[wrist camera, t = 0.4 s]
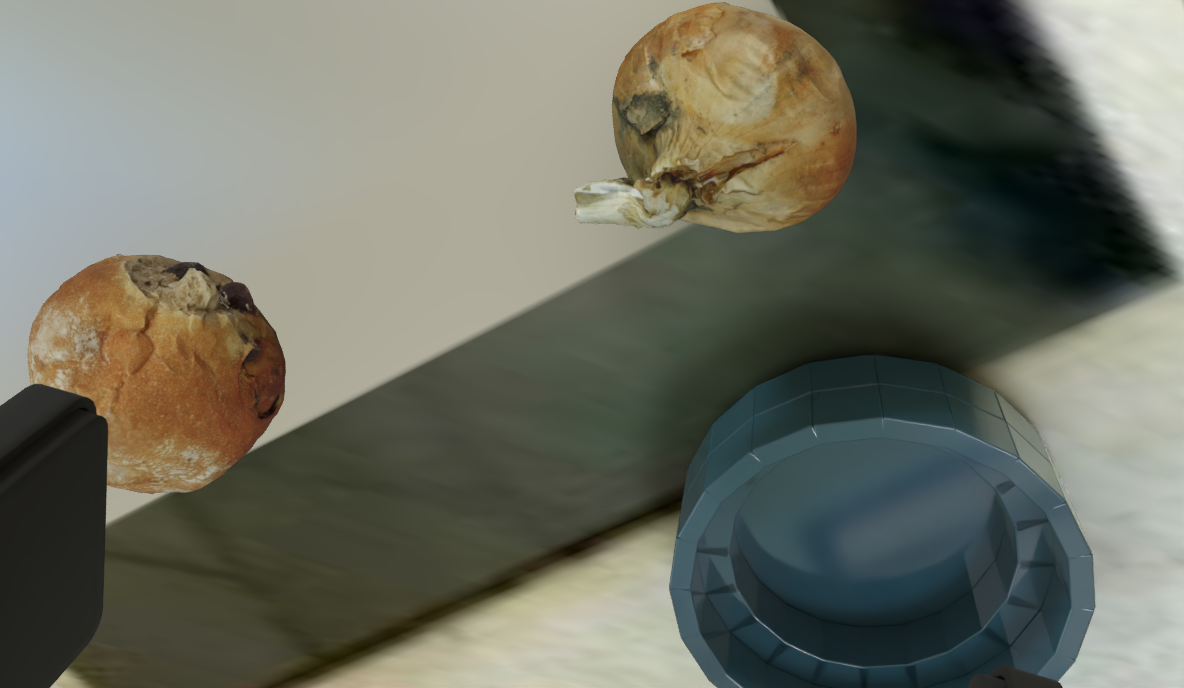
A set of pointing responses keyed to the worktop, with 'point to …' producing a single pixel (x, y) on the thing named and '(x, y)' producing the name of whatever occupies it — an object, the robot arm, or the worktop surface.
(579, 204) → the onion
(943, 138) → the worktop surface
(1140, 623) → the worktop surface
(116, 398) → the bread roll
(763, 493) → the bowl
